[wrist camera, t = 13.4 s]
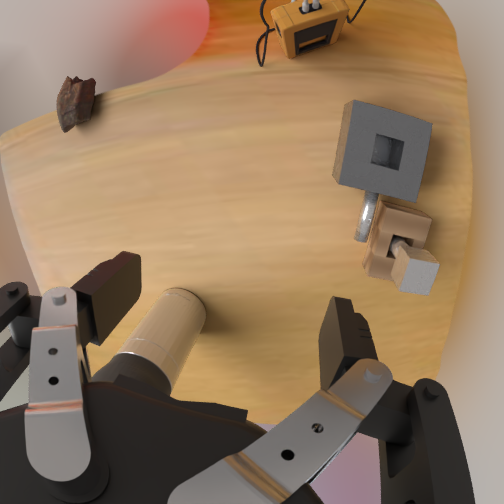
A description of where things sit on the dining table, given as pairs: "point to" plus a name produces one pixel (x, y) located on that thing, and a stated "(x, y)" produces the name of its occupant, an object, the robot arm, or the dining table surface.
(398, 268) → the grey square peg
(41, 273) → the dining table surface
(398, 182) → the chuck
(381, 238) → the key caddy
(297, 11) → the multimeter
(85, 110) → the rough brown rock chunk
